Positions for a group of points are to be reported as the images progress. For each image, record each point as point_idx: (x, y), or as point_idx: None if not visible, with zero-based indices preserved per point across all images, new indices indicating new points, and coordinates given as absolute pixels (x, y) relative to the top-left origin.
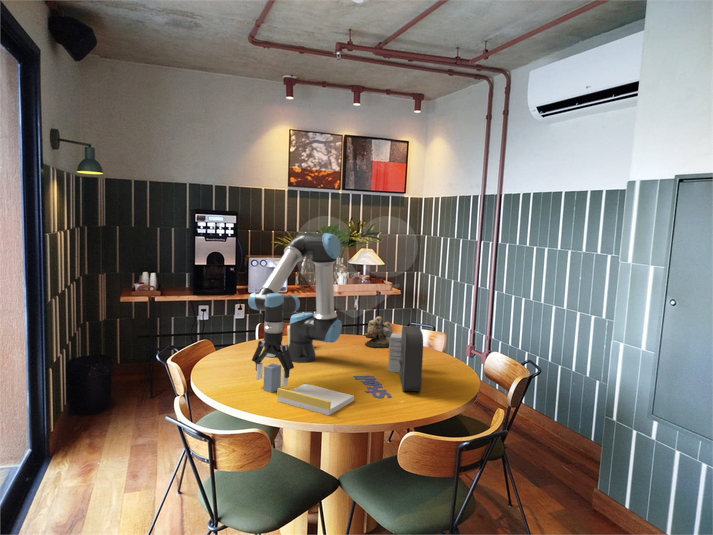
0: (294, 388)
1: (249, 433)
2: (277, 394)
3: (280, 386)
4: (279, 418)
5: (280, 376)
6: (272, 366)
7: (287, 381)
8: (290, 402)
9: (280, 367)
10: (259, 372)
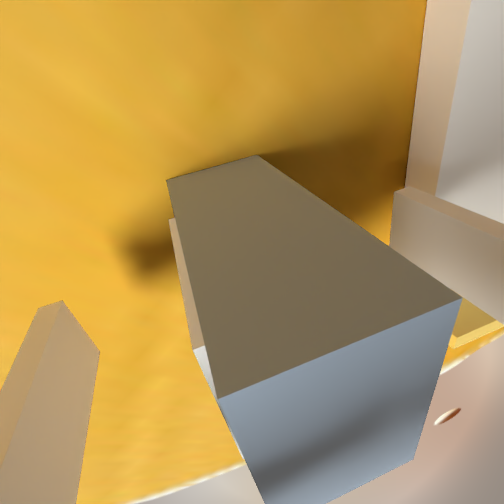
0: (446, 143)
1: (445, 421)
2: None
3: (264, 161)
4: (476, 346)
5: (314, 201)
6: (365, 443)
7: (435, 202)
8: None
9: (414, 280)
10: (72, 408)
